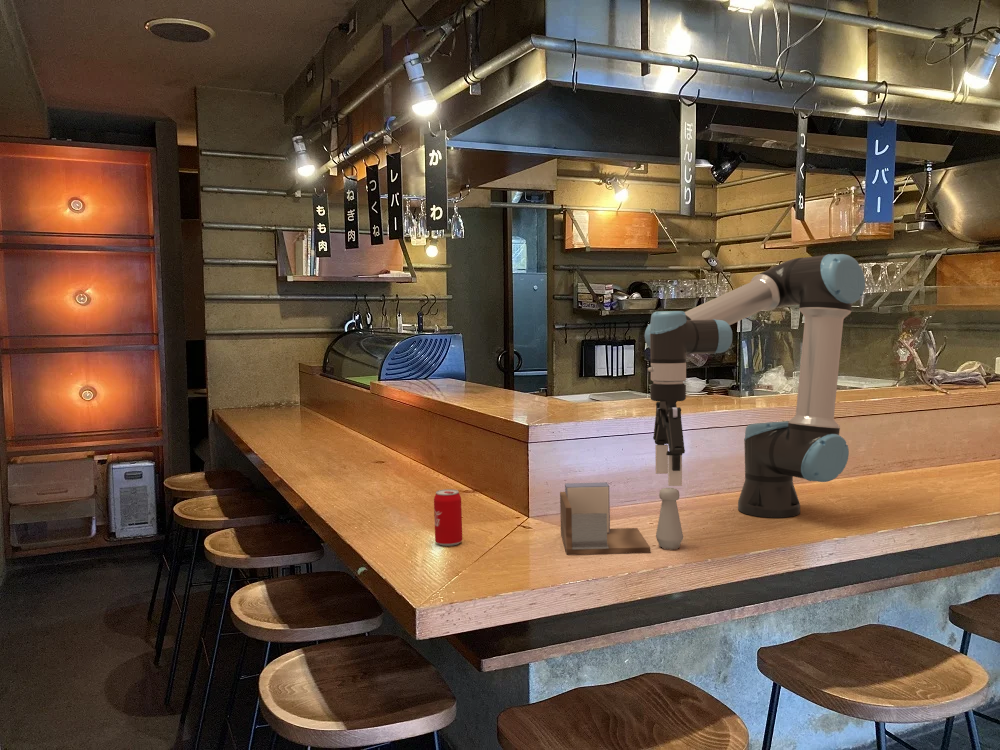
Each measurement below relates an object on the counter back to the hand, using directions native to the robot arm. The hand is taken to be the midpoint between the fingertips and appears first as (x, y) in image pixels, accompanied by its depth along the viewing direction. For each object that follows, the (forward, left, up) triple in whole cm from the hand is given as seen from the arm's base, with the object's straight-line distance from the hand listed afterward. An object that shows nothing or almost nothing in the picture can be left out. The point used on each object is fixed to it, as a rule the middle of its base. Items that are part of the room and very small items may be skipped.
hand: (668, 479), depth 173 cm
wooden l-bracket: (+14, -4, -15) cm, 21 cm away
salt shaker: (0, 0, -15) cm, 15 cm away
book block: (+17, -10, -14) cm, 24 cm away
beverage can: (+49, -7, -15) cm, 52 cm away
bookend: (+18, +2, -14) cm, 23 cm away
